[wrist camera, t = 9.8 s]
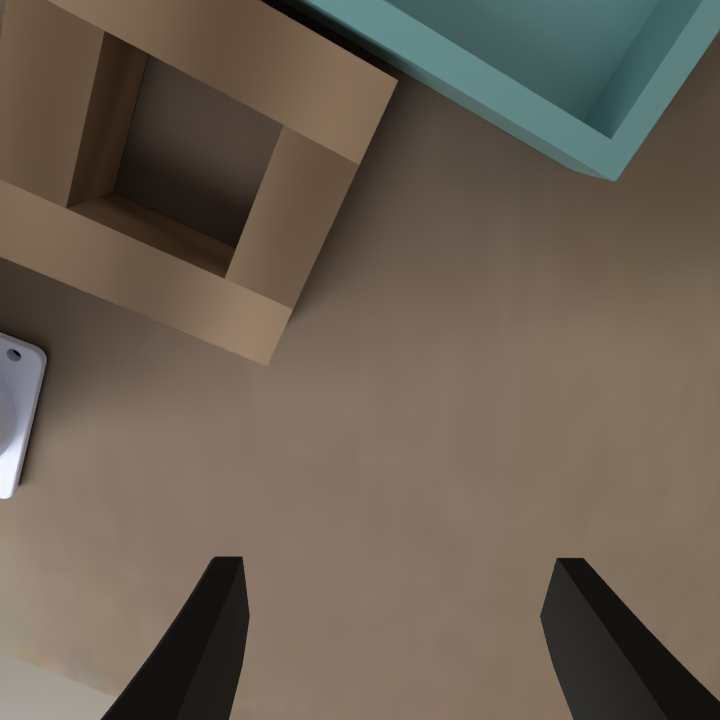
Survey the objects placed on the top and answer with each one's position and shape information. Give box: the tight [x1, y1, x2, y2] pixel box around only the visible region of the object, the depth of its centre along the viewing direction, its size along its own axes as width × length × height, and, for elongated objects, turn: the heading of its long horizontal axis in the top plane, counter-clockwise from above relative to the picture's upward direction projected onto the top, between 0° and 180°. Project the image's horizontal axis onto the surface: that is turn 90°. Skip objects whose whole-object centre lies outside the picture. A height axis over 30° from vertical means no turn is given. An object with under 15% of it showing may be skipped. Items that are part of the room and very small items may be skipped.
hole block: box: [0, 0, 398, 366], centre depth 14 cm, size 9×9×3 cm
